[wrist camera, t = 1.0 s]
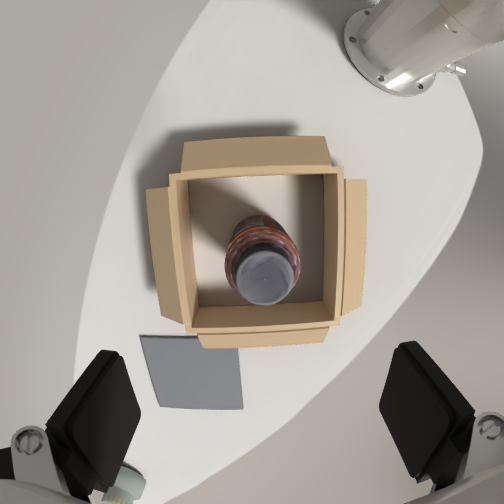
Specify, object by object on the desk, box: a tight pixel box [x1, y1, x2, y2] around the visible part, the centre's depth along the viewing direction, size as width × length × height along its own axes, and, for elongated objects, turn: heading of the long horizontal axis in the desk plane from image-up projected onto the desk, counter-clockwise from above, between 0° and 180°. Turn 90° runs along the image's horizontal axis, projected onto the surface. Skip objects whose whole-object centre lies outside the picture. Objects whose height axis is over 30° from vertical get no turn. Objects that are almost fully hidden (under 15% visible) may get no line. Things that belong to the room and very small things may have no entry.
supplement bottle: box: [225, 216, 301, 306], centre depth 25 cm, size 6×6×11 cm
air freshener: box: [102, 466, 146, 504], centre depth 37 cm, size 11×8×10 cm
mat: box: [141, 336, 243, 410], centre depth 34 cm, size 12×12×1 cm
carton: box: [145, 136, 367, 348], centre depth 28 cm, size 21×21×5 cm
